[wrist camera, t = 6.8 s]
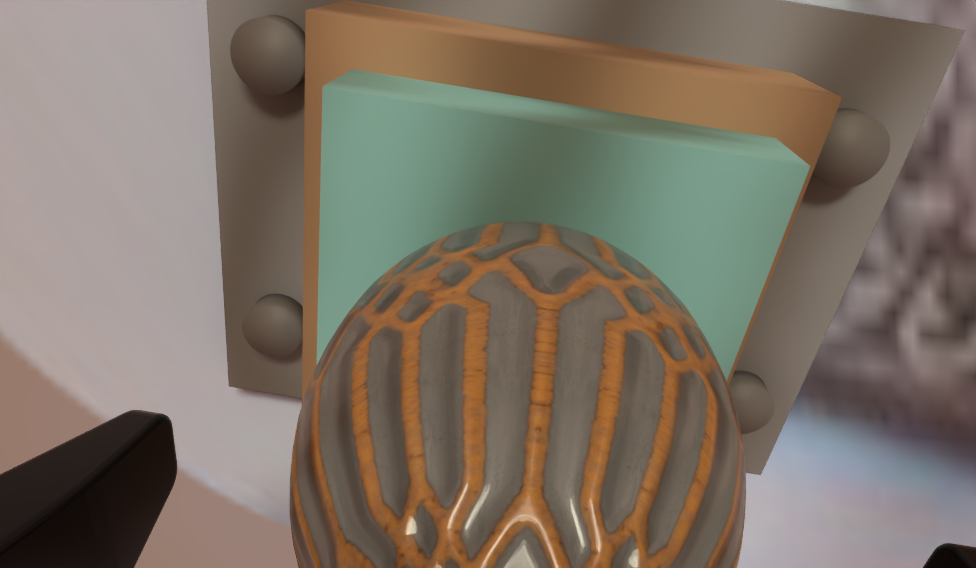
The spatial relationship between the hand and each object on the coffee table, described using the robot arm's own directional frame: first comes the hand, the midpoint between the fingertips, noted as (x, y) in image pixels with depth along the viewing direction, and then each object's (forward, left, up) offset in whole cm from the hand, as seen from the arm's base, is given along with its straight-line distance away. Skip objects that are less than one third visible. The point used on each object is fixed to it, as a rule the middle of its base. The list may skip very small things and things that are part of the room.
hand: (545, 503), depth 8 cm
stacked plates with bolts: (0, +2, -12) cm, 12 cm away
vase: (0, +2, -7) cm, 7 cm away
